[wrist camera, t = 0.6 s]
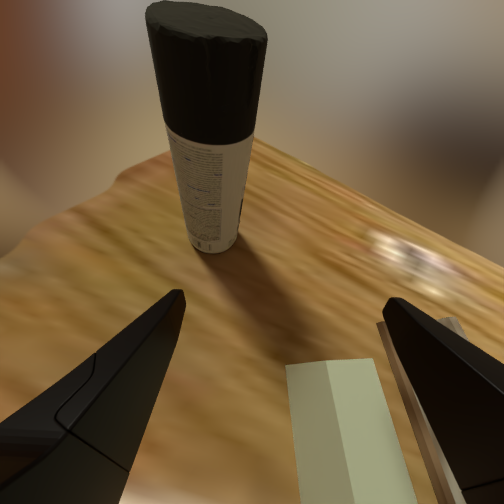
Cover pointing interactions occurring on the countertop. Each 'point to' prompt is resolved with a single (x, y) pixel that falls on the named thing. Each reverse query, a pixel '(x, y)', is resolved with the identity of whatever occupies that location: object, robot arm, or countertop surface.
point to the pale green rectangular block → (345, 435)
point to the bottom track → (425, 422)
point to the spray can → (208, 109)
